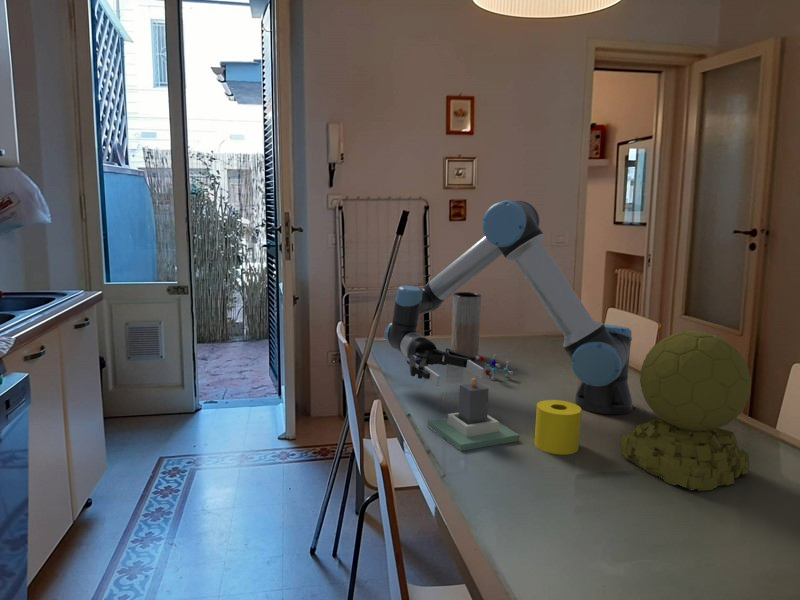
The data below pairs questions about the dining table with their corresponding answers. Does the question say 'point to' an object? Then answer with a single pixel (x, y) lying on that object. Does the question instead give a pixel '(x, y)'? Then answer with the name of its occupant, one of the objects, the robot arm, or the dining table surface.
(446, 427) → the board
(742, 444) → the dining table surface
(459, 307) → the planter
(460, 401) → the plug
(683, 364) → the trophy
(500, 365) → the molecular model
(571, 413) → the yellow hollow cylinder
